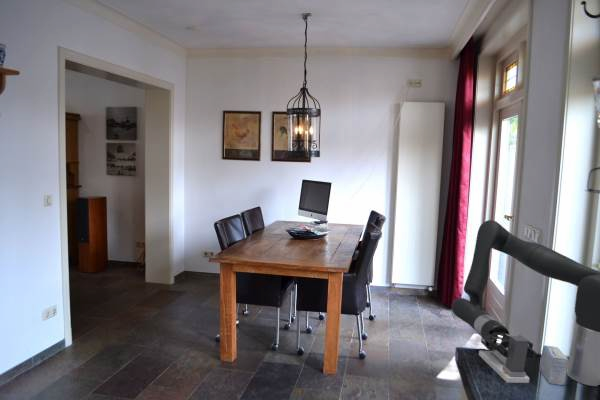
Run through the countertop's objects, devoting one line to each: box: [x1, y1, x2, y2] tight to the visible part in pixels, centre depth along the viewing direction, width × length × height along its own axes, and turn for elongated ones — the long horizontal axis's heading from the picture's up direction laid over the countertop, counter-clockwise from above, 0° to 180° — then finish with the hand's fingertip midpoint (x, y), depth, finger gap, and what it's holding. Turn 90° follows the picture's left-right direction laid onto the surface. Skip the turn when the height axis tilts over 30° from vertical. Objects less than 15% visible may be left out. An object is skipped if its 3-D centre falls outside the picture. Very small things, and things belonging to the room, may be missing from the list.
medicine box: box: [539, 345, 569, 386], centre depth 128 cm, size 8×4×9 cm, turn 168°
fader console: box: [478, 350, 530, 384], centre depth 132 cm, size 7×16×2 cm, turn 6°
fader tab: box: [502, 335, 530, 376], centre depth 125 cm, size 5×4×11 cm
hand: (521, 355), depth 123 cm, fingers open, 8 cm apart
